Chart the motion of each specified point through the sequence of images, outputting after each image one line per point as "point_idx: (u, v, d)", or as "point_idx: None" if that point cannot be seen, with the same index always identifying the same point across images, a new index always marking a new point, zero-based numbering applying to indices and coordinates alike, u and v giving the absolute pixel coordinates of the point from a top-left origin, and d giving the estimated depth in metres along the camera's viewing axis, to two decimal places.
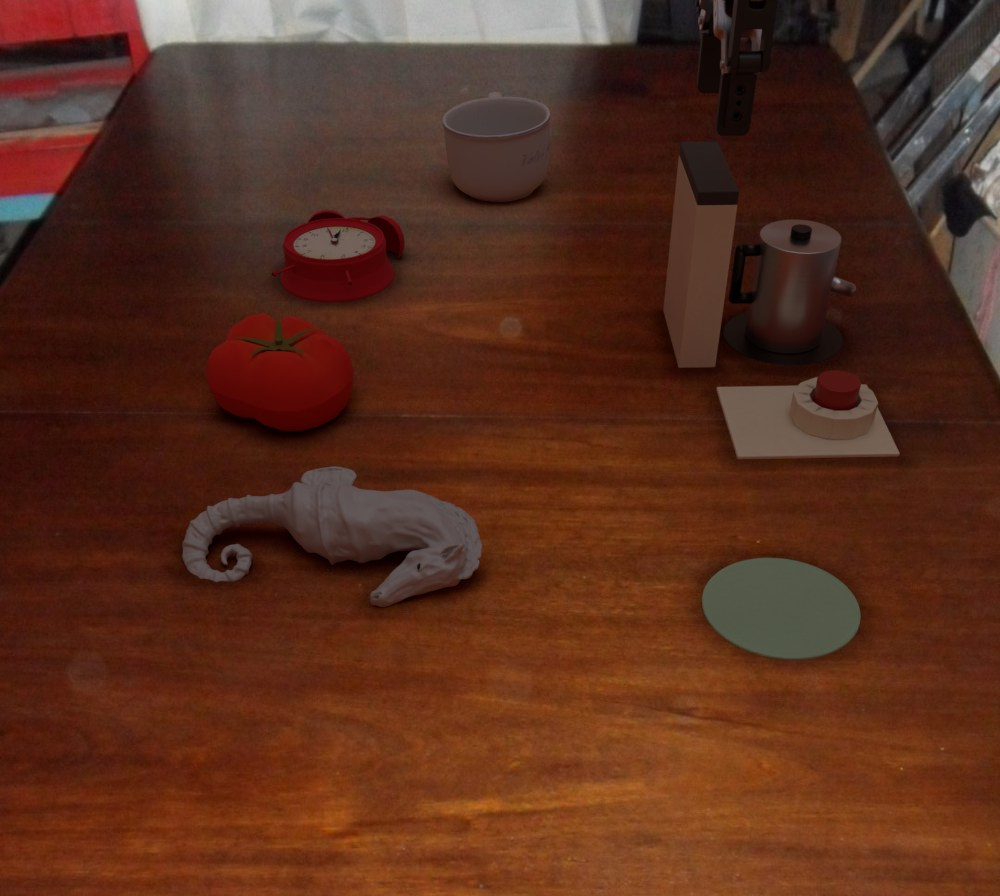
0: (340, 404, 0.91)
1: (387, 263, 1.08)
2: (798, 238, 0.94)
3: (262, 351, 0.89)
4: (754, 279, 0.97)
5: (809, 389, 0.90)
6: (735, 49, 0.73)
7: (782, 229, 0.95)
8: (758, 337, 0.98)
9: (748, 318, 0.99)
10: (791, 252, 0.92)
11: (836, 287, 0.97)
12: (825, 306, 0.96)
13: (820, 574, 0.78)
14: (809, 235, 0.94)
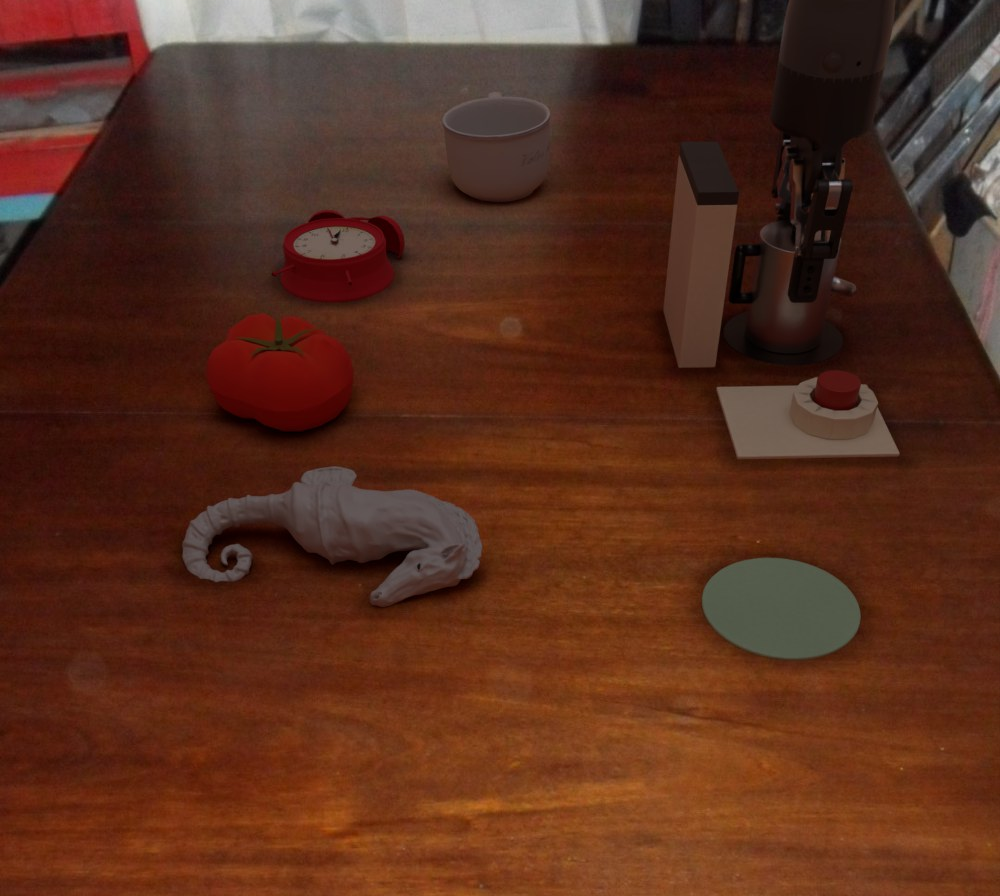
0: (340, 404, 0.91)
1: (387, 263, 1.08)
2: None
3: (262, 351, 0.89)
4: (754, 279, 0.97)
5: (809, 389, 0.90)
6: (809, 244, 0.88)
7: (782, 229, 0.95)
8: (758, 337, 0.98)
9: (748, 318, 0.99)
10: (791, 252, 0.92)
11: (835, 287, 0.97)
12: (825, 306, 0.96)
13: (820, 574, 0.78)
14: None
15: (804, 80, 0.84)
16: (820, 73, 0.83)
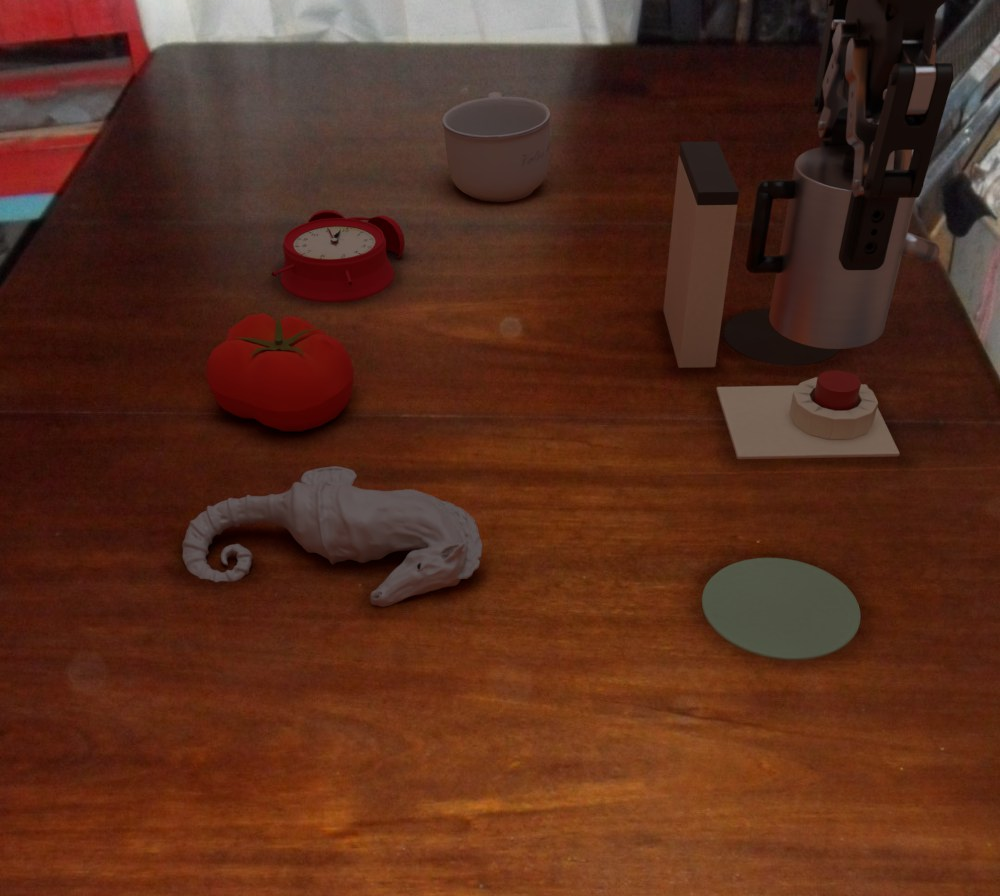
0: (340, 404, 0.91)
1: (387, 263, 1.08)
2: None
3: (262, 351, 0.89)
4: (785, 235, 0.64)
5: (809, 389, 0.90)
6: (879, 173, 0.55)
7: (829, 158, 0.62)
8: (790, 324, 0.65)
9: (775, 295, 0.66)
10: (845, 191, 0.59)
11: (909, 248, 0.64)
12: (893, 277, 0.63)
13: (820, 574, 0.78)
14: None
15: None
16: None
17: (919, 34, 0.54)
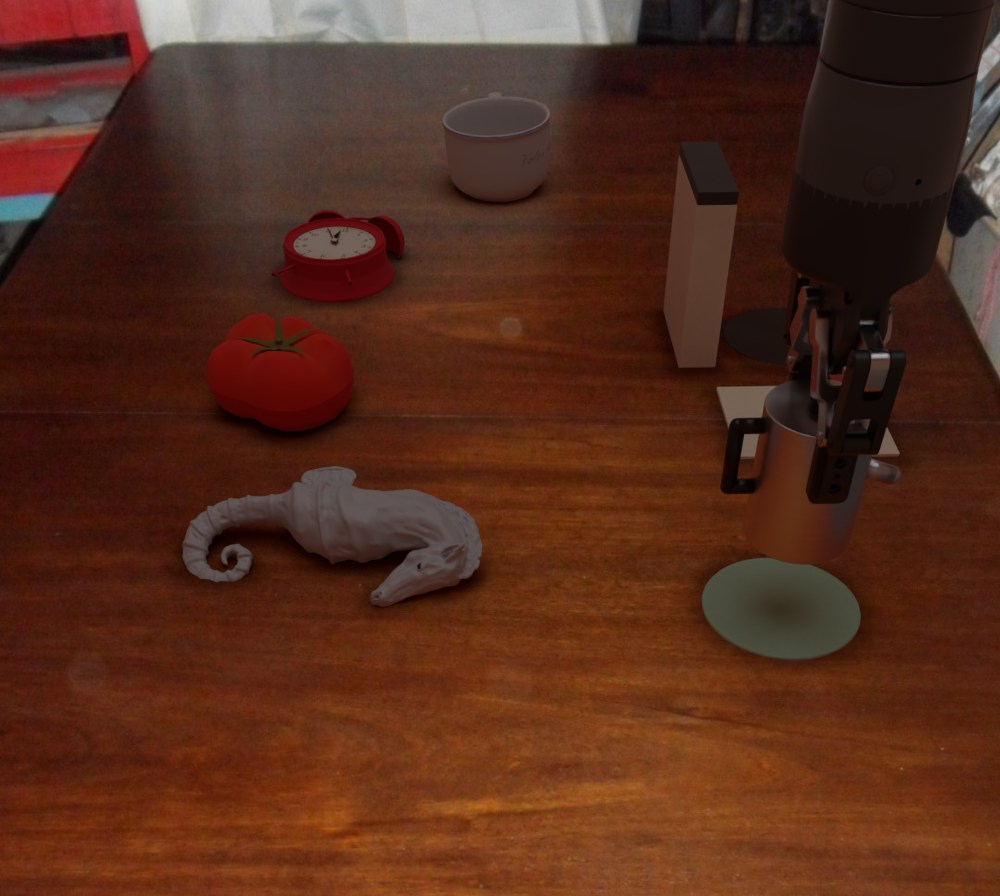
0: (340, 404, 0.91)
1: (387, 263, 1.08)
2: None
3: (262, 351, 0.89)
4: (756, 463, 0.68)
5: None
6: (840, 437, 0.60)
7: (796, 396, 0.66)
8: (762, 540, 0.70)
9: (748, 512, 0.70)
10: (810, 437, 0.64)
11: (872, 473, 0.68)
12: (857, 502, 0.68)
13: (820, 574, 0.78)
14: None
15: (834, 204, 0.55)
16: (859, 195, 0.54)
17: (875, 316, 0.58)
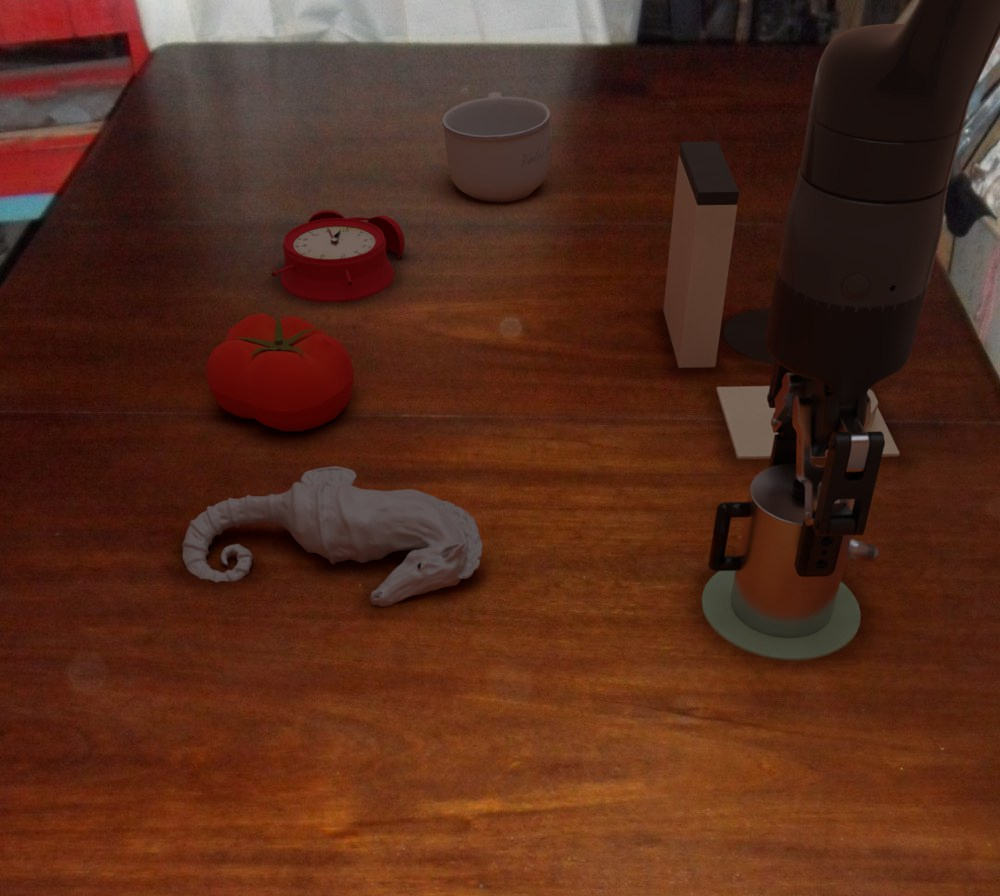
0: (340, 404, 0.91)
1: (387, 263, 1.08)
2: (801, 498, 0.69)
3: (262, 351, 0.89)
4: (742, 543, 0.72)
5: None
6: (825, 517, 0.62)
7: (780, 481, 0.70)
8: (748, 614, 0.74)
9: (735, 587, 0.74)
10: (793, 524, 0.68)
11: (852, 553, 0.72)
12: (838, 580, 0.72)
13: None
14: None
15: (814, 306, 0.58)
16: (837, 300, 0.58)
17: (854, 407, 0.61)
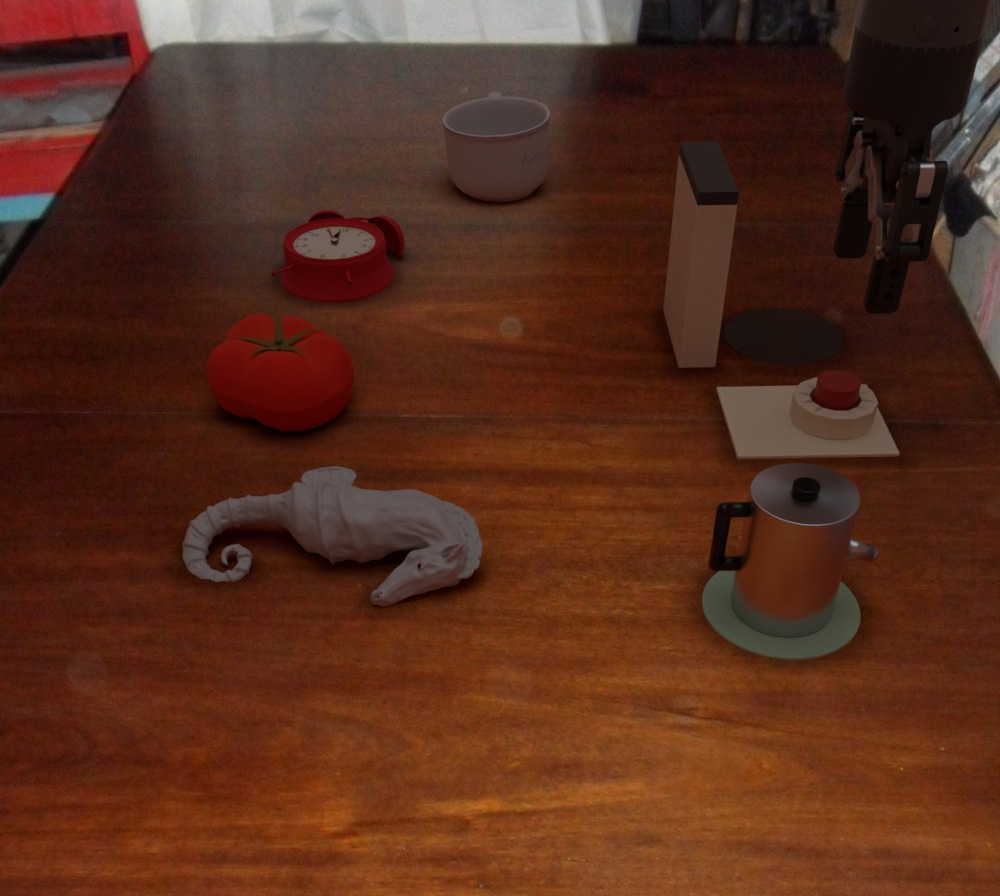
0: (340, 404, 0.91)
1: (387, 263, 1.08)
2: (801, 498, 0.69)
3: (262, 351, 0.89)
4: (742, 543, 0.72)
5: (809, 389, 0.90)
6: (896, 242, 0.74)
7: (780, 481, 0.70)
8: (748, 614, 0.74)
9: (735, 587, 0.74)
10: (793, 524, 0.68)
11: (852, 553, 0.72)
12: (838, 580, 0.72)
13: None
14: (816, 495, 0.69)
15: (889, 50, 0.70)
16: (910, 41, 0.69)
17: (920, 146, 0.73)
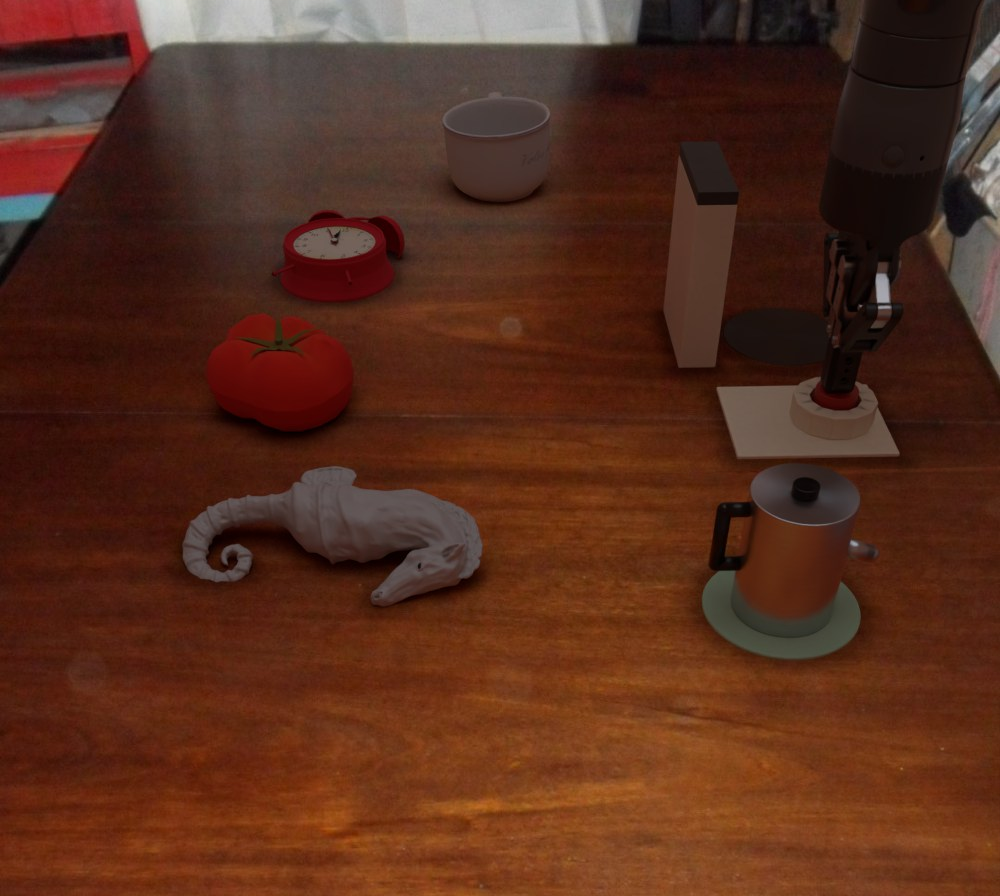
0: (340, 404, 0.91)
1: (387, 263, 1.08)
2: (801, 498, 0.69)
3: (262, 351, 0.89)
4: (742, 543, 0.72)
5: (809, 389, 0.90)
6: (848, 346, 0.83)
7: (780, 481, 0.70)
8: (748, 614, 0.74)
9: (735, 587, 0.74)
10: (793, 524, 0.68)
11: (852, 553, 0.72)
12: (838, 580, 0.72)
13: None
14: (816, 495, 0.69)
15: (860, 174, 0.75)
16: (878, 168, 0.74)
17: (889, 259, 0.78)
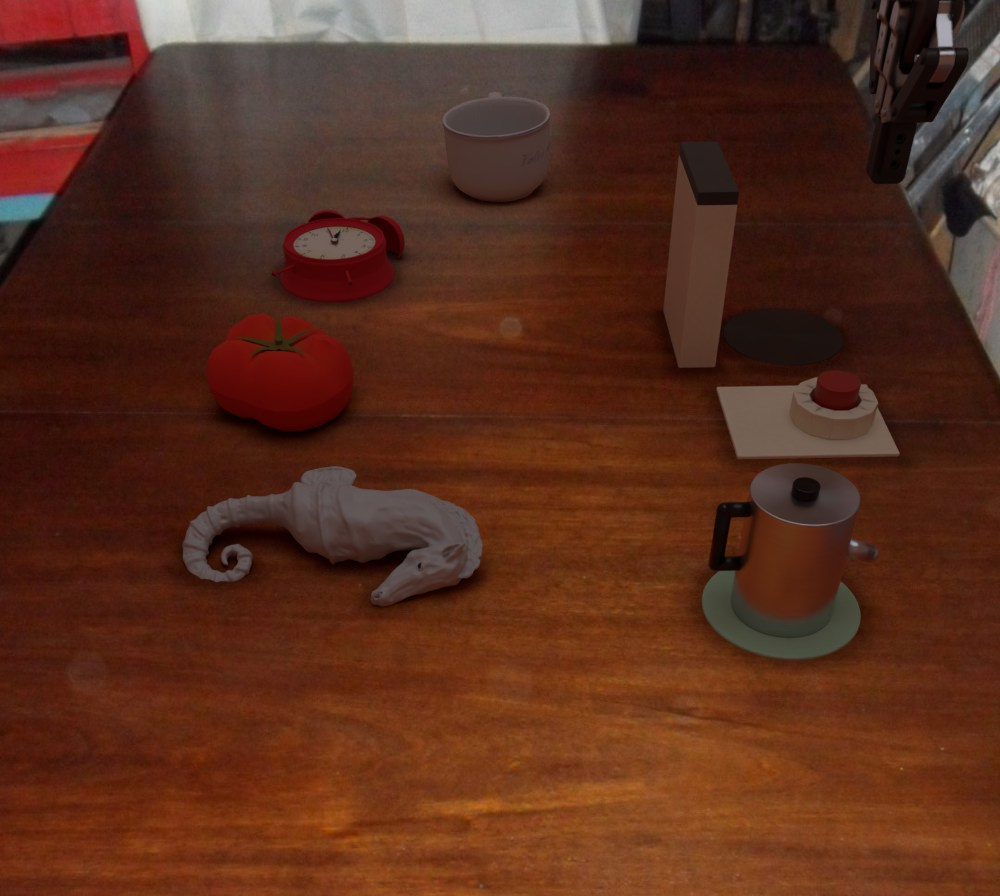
0: (340, 404, 0.91)
1: (387, 263, 1.08)
2: (801, 498, 0.69)
3: (262, 351, 0.89)
4: (742, 543, 0.72)
5: (809, 389, 0.90)
6: (902, 112, 0.72)
7: (780, 481, 0.70)
8: (748, 614, 0.74)
9: (735, 587, 0.74)
10: (793, 524, 0.68)
11: (852, 553, 0.72)
12: (838, 580, 0.72)
13: None
14: (816, 495, 0.69)
15: None
16: None
17: None
